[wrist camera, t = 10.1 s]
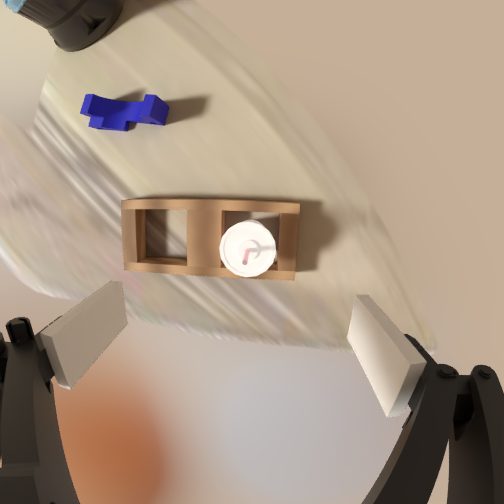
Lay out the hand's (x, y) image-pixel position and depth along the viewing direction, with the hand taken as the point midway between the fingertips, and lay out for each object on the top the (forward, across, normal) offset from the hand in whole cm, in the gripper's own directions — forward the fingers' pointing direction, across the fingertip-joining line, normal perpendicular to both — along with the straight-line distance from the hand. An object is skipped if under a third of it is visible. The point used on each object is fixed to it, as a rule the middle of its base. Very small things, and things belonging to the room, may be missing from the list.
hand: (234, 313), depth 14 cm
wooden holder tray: (+24, -6, 0) cm, 25 cm away
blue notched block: (+25, -19, +18) cm, 36 cm away
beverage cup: (+25, 0, 0) cm, 25 cm away
